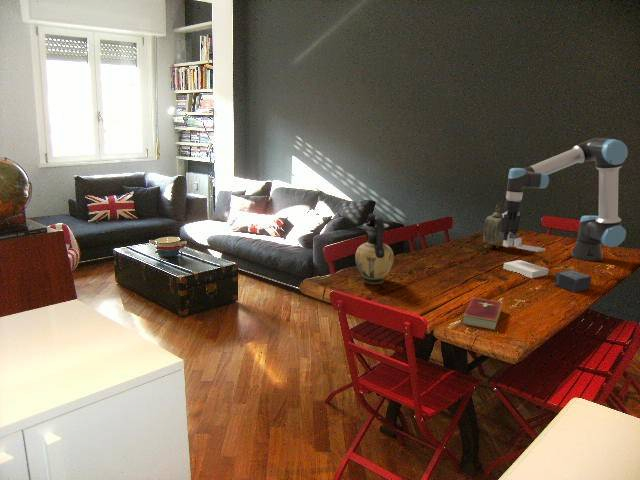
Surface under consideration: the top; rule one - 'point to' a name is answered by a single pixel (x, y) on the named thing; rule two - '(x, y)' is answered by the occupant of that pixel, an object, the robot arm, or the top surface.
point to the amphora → (374, 252)
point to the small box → (573, 280)
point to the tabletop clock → (493, 228)
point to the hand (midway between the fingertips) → (507, 246)
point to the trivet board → (526, 268)
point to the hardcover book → (482, 313)
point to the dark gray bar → (519, 243)
